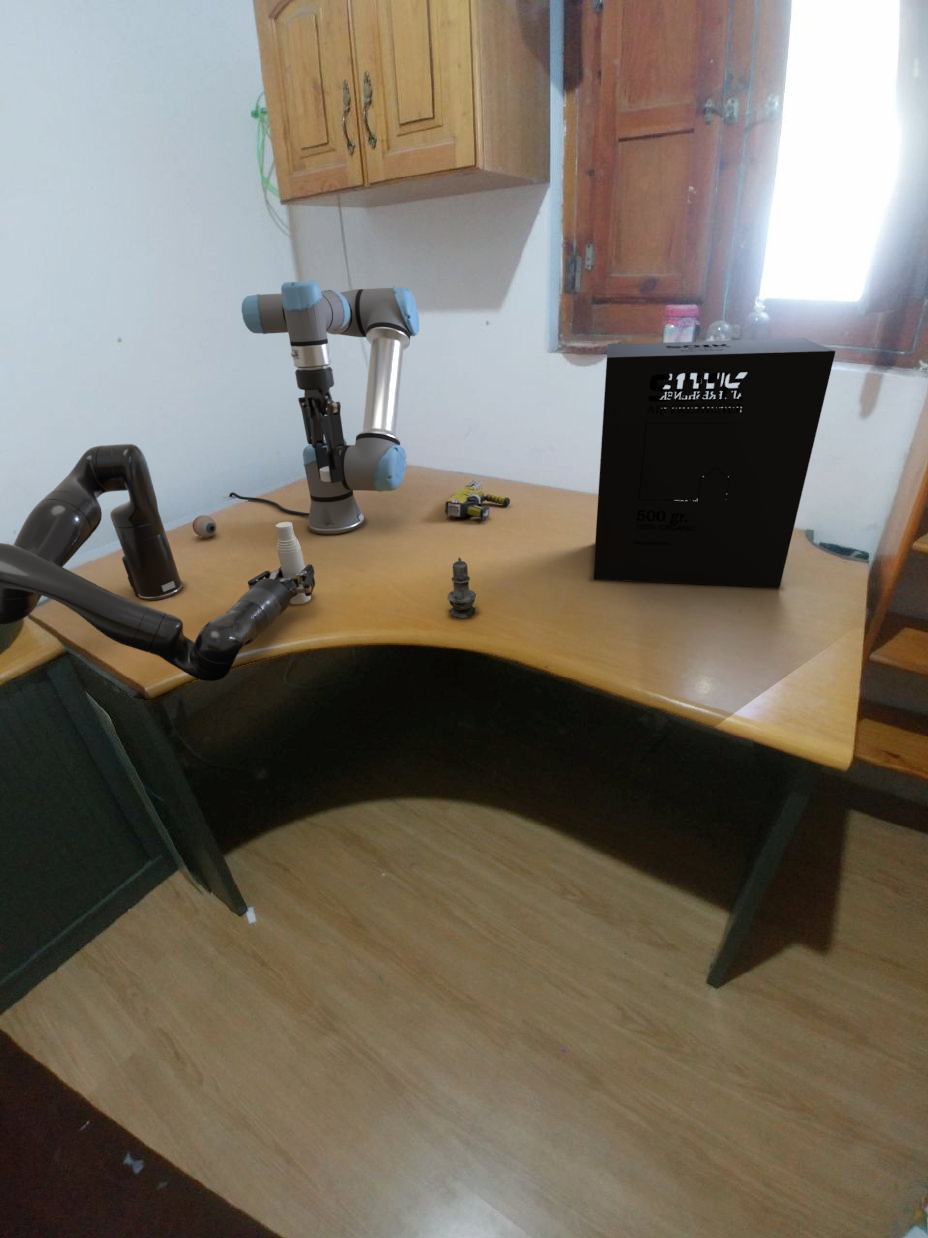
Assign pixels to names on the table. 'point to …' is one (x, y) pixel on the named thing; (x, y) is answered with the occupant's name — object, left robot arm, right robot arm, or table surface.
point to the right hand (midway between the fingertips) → (331, 479)
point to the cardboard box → (706, 459)
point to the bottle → (290, 556)
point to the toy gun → (472, 502)
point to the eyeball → (204, 526)
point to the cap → (325, 474)
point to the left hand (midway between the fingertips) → (299, 567)
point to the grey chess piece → (461, 592)
